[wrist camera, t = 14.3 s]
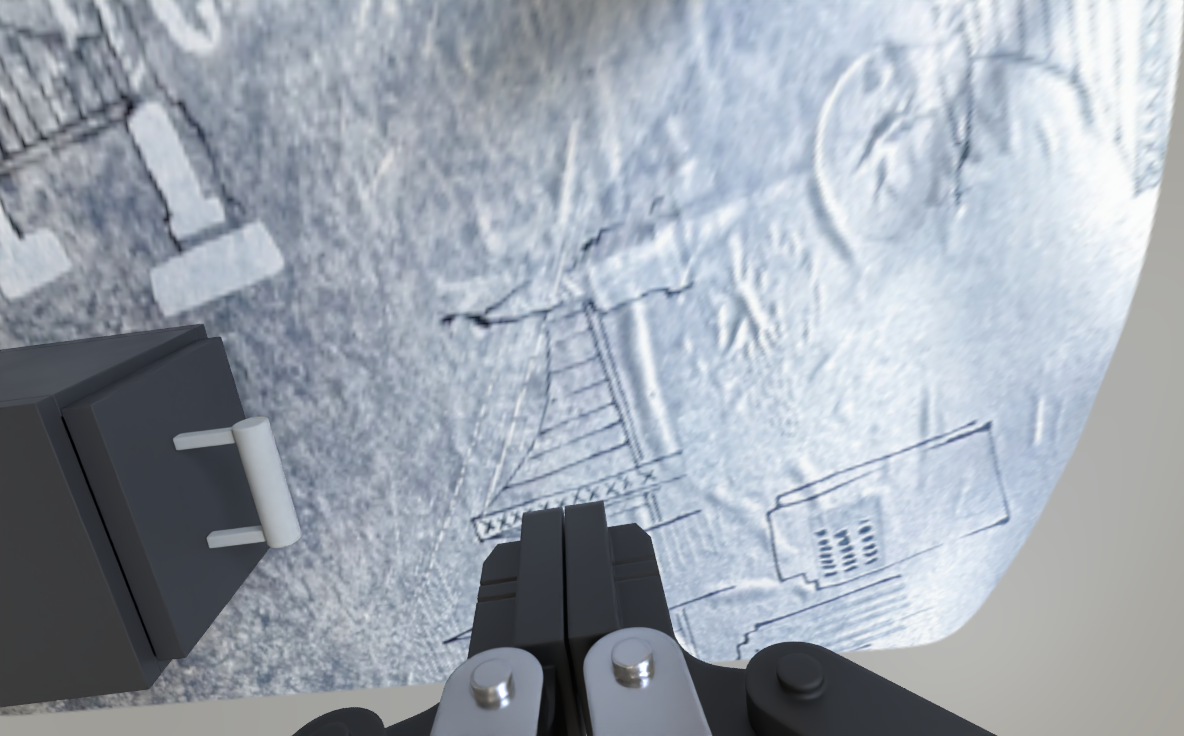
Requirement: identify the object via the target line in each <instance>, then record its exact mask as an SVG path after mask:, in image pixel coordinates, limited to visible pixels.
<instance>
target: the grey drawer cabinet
mask: <svg viewBox="0 0 1184 736" xmlns="http://www.w3.org/2000/svg"><path fill="white" fill-rule="evenodd" d="M205 338H208V337H207V334H206V331H205V327H204V325H203V324H198V325H190V326H182V327H174V328H167V329H159V330H151V331H143V332H135V333H128V334H120V335H112V336H104V337H96V338H89V339H81V340H73V341H65V342H58V343H50V344H42V345H34V346H26V347H19V348H11V349H3V350H0V707H7V706H15V705H23V704H31V703H40V702H48V701H56V700H65V699H73V698H81V697H89V696H98V695H106V694H114V693H122V692H131V691H139V690H147V689H150V688H151V686H152V685H153V684H154V682H155V681H156V680H157V679H158V677H159V676H160V675H161V673H162V672H163V670H164V669H165V668H166V667H167V665H168V664H169V663H170V662H171V660H164V661H158V658H157V656H156V653H155V651H154V648H153V646H152V643H151V641H150V638H149V635H148V633H147V630H146V628H145V625H144V623H143V624H141V621H140V619H139V616H138V613H137V611H136V608H135V606H134V603H133V601H132V598H131V596H130V593H129V590H128V588H127V585H126V583H125V580H124V578H123V575H122V572H121V570H120V567H119V565H118V562H117V560H116V557H115V555H114V552H113V549H112V547H111V544H110V542H109V539H108V537H107V534H106V532H105V529H104V526H103V524H102V521H101V519H100V516H99V514H98V511H97V508H96V506H95V503H94V501H93V498H92V496H91V493H90V491H89V488H88V485H87V483H86V480H85V478H84V475H83V473H82V470H81V467H80V465H79V462H78V460H77V457H76V455H75V452H74V450H73V447H72V444H71V442H70V439H69V437H68V434H67V432H66V429H65V427H64V424H63V421H62V419H61V417H62V416H63V414H62V412H61V409H62V408H64V407H66V406H68V405H70V404H72V403H74V402H76V401H78V400H80V399H82V398H84V397H86V396H88V395H90V394H92V393H94V392H96V391H98V390H100V389H102V388H104V387H106V386H108V385H110V384H112V383H114V382H116V381H118V380H120V379H121V378H123V377H125V376H127V375H129V374H131V373H133V372H135V371H137V370H139V369H141V368H143V367H145V366H147V365H149V364H151V363H153V362H155V361H157V360H159V359H161V358H163V357H165V356H167V355H169V354H171V353H173V352H175V351H177V350H179V349H180V348H182V347H184V346H186V345H188V344H190V343H192V342H194V341H196V340H198V339H205Z"/></svg>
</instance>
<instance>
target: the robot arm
mask: <svg viewBox="0 0 1184 736" xmlns="http://www.w3.org/2000/svg"><path fill="white" fill-rule="evenodd" d="M477 599H478V603H477V604H476V610H475V616H474V622H473V628H472V634H471V640H470V646H469V652H468V658H467V660H466V661H465V662H463V663H462V664H461V665H460V666H459V667H457V668H456V669H455V671H454V672H453V673H452V674H451V675H450V677H449V679H448V680H447V682H446V684H445V687H444V690H443V693H442V697H441V700H440V702H439V703H437V704H436V705H435V706H433V707H431V708H430V709H428V710H426V711H424V712H422V713H420V714H418V715H415V716H413V717H411V718H408V719H406V720H404V721H401V722H399V723H396V724H394V725H392V726H389V727H387V728H384V725H383V722H382V720H381V719H380V718H379V716H378V715H377V714H376V713H374V712H372V711H370V710H368V709H364V708H358V707H355V708H354V707H351V708H342V709H339V710H334V711H332V712H329V713H326V714H324V715H322V716H320V717H318V718H316V719H314V720H312V721H311V722H309V723H307V724H306V725H305V726H303V727H302V728H301V729H299V730H298V731H297V732H296V733H295V734H293V735H292V736H586V734H587V736H997V735H995V734H993V733H991V732H989V731H987V730H985V729H983V728H981V727H979V726H977V725H975V724H973V723H971V722H969V721H967V720H965V719H963V718H961V717H959V716H957V715H956V714H954V713H952V712H950V711H948V710H946V709H944V708H942V707H940V706H938V705H936V704H934V703H932V702H930V701H928V700H926V699H924V698H922V697H920V696H918V695H916V694H915V693H912V692H911V691H909V690H907V689H905V688H903V687H901V686H899V685H897V684H895V683H893V682H891V681H889V680H887V679H885V678H883V677H881V676H879V675H877V674H875V673H874V672H872V671H869V670H868V669H866V668H864V667H862V666H859V665H858V664H856V663H854V662H852V661H850V660H848V659H846V658H844V657H842V656H840V655H838V654H836V653H834V652H833V651H831V650H828V649H826V648H824V647H822V646H818V645H815V644H811V643H805V642H783V643H778V644H774V645H771V646H768V647H766V648H764V649H763V650H761V651H759V652H758V653H757V654H756V655H755V656H754V657H753V658H752V659H751V660H750V662H749V664H748V665H747V668H746V669H738V668H729V667H722V666H716V665H712V664H709V663H705V662H703V661H701V660H698V659H697V658H695V657H693V656H692V655H690V654H689V653H688V652H686V651H685V650H684V649H683V648H682V647H681V646H680V644H679V643H678V641H677V639H676V637H675V635H674V632H673V627H672V623H671V619H670V615H669V611H668V607H667V603H666V598H665V594H664V590H663V586H662V582H661V578H660V574H659V569H658V565H657V561H656V557H655V553H654V548H653V544H652V540H651V537H650V536H649V535H648V534H647V533H646V532H645V531H644V530H643V529H642V528H641V527H639V526H638V525H637V524H636V523H632V524H625V525H619V526H612V527H607V521H606V514H605V508H604V502H603V501H596V502H589V503H583V504H576V505H570V506H565V517H564V512H563V508H562V507H558V508H551V509H545V510H538V511H532V512H525V513H523V516H522V527H521V539H520V541H515V542H509V543H502V544H497V546H496V547H495V548H494V550H493V551H492V552H491V554H490V555H489V556H488V557H487V559H486V560H485V561H484V563H483V568H482V574H481V580H480V586H479V592H478V598H477Z"/></svg>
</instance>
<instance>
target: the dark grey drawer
mask: <svg viewBox="0 0 1184 736" xmlns="http://www.w3.org/2000/svg"><path fill="white" fill-rule="evenodd" d="M61 412H62V414H63V416H62V417H61V419H62V421H63V424H64V427H65V429H66V432H67V434H68V437H69V439H70V442H71V444H72V447H73V450H74V452H75V455H76V457H77V460H78V462H79V465H80V467H81V470H82V473H83V475H84V478H85V480H86V483H87V485H88V488H89V491H90V493H91V496H92V498H93V501H94V503H95V506H96V508H97V511H98V514H99V516H100V519H101V521H102V524H103V526H104V529H105V532H106V534H107V537H108V539H109V542H110V544H111V547H112V549H113V552H114V555H115V557H116V560H117V562H118V565H119V567H120V570H121V572H122V575H123V578H124V580H125V583H126V585H127V588H128V590H129V593H130V596H131V598H132V601H133V603H134V606H135V608H136V611H137V613H138V616H139V619H140V621H141V624H143V623H144V625H145V628H146V630H147V633H148V635H149V638H150V641H151V643H152V646H153V648H154V651H155V653H156V656H157V658H158V661H164V660H172V659H180V658H186V657H187V655H188V654H189V653H190V651H191V650H192V649H193V647H194V646H195V645H196V644H197V642H198V641H199V640H200V638H201V637H202V636H203V634H204V633H205V632H206V630H207V629H208V628H209V626H210V625H211V624H212V623H213V621H214V620H215V619H216V617H217V616H218V615H219V613H220V612H221V611H222V609H223V608H224V607H225V605H226V604H227V603H228V602H229V600H230V599H231V598H232V596H233V595H234V594H235V592H236V591H237V590H238V588H239V587H240V586H241V585H242V583H243V582H244V581H245V579H246V578H247V577H248V575H249V574H250V573H251V571H252V570H253V569H254V567H255V566H256V565H257V564H258V562H259V561H260V560H261V558H262V557H263V556H264V554H265V553H266V552H267V550H268V549H269V548H275V549H276V548H283V547H286V546H289V545H291V544H293V543H295V542H296V541H298V540H299V539H300V538H301V535H302V533H301V529H300V526H299V522H298V519H297V515H296V512H295V509H294V505H293V502H292V498H291V495H290V491H289V488H288V485H287V481H286V478H285V474H284V471H283V467H282V464H281V460H280V457H279V454H278V450H277V447H276V443H275V440H274V436H273V433H272V429H271V426H270V423H269V419H268V418H267V417H263V416H259V417H252V418H248V419H245V416H244V412H243V409H242V406H241V402H240V399H239V396H238V392H237V389H236V386H235V382H234V379H233V376H232V373H231V369H230V366H229V363H228V359H227V356H226V353H225V349H224V346H223V343H222V339H221V337H213V338H205V339H198V340H196V341H194V342H192V343H190V344H188V345H186V346H184V347H182V348H180V349H179V350H177V351H175V352H173V353H171V354H169V355H167V356H165V357H163V358H161V359H159V360H157V361H155V362H153V363H151V364H149V365H147V366H145V367H143V368H141V369H139V370H137V371H135V372H133V373H131V374H129V375H127V376H125V377H123V378H121V379H120V380H118V381H116V382H114V383H112V384H110V385H108V386H106V387H104V388H102V389H100V390H98V391H96V392H94V393H92V394H90V395H88V396H86V397H84V398H82V399H80V400H78V401H76V402H74V403H72V404H70V405H68V406H66V407H64V408H62V409H61Z"/></svg>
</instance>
